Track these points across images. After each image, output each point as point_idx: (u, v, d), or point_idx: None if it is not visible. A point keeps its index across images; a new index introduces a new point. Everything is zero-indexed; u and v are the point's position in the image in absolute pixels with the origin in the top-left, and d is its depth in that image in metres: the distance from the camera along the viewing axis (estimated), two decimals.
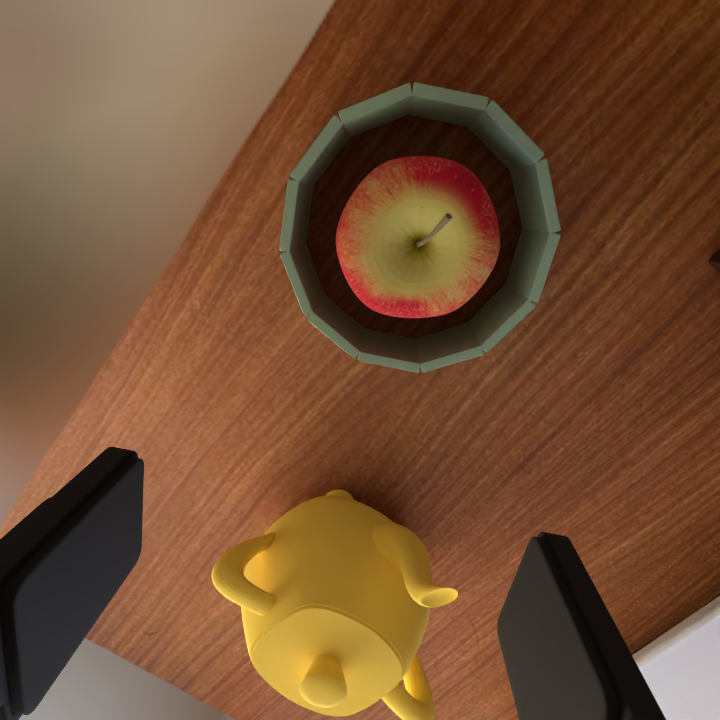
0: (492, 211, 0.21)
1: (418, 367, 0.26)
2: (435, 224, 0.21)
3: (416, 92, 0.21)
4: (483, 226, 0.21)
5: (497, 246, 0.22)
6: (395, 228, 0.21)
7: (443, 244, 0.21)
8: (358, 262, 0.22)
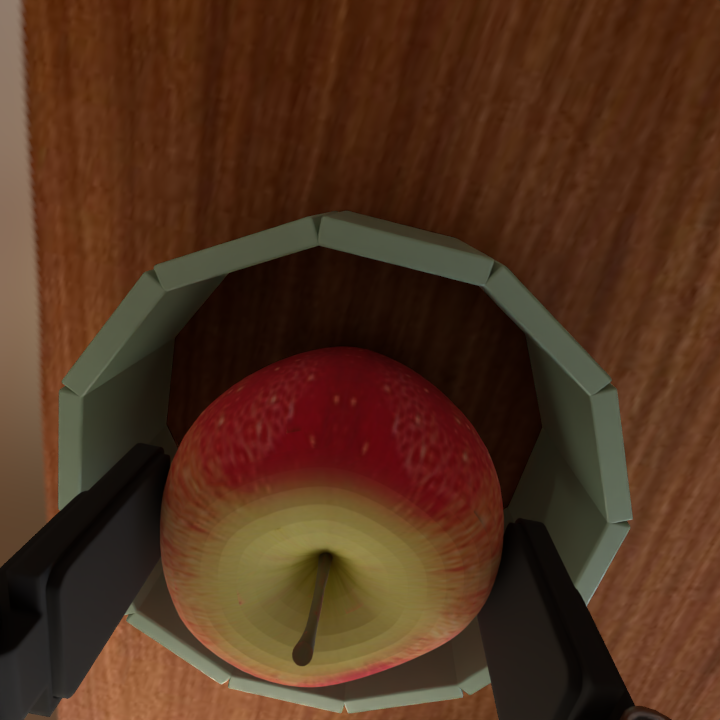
0: (438, 452, 0.09)
1: (457, 691, 0.13)
2: (328, 539, 0.09)
3: (168, 282, 0.10)
4: (431, 508, 0.08)
5: (488, 511, 0.09)
6: (254, 577, 0.09)
7: (368, 563, 0.09)
8: (225, 654, 0.10)
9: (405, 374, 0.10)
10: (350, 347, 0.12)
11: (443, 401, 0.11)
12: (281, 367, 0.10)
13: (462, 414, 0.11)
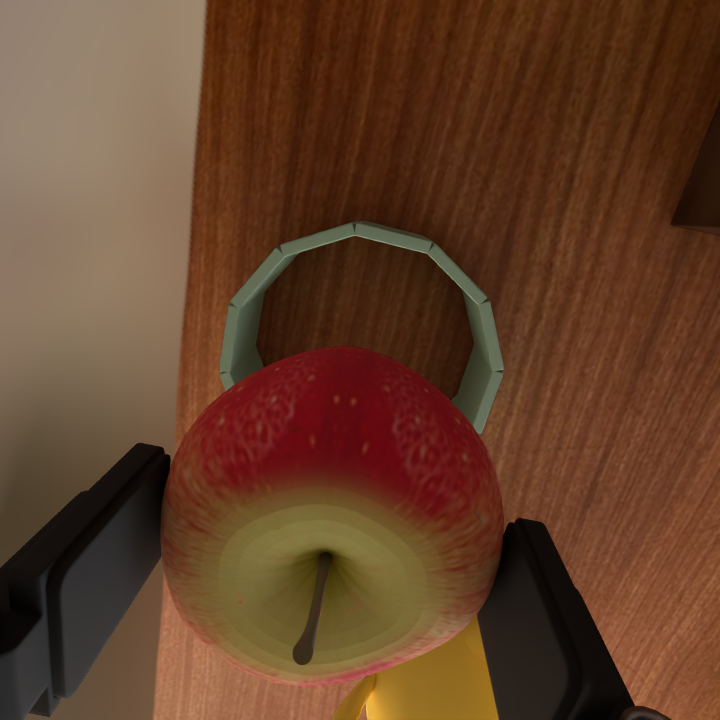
0: (437, 452, 0.09)
1: None
2: (328, 539, 0.09)
3: (286, 252, 0.21)
4: (430, 507, 0.08)
5: (487, 511, 0.09)
6: (254, 576, 0.09)
7: (368, 562, 0.09)
8: (226, 653, 0.10)
9: (405, 374, 0.11)
10: (350, 347, 0.12)
11: (443, 401, 0.11)
12: (281, 367, 0.10)
13: (462, 414, 0.11)
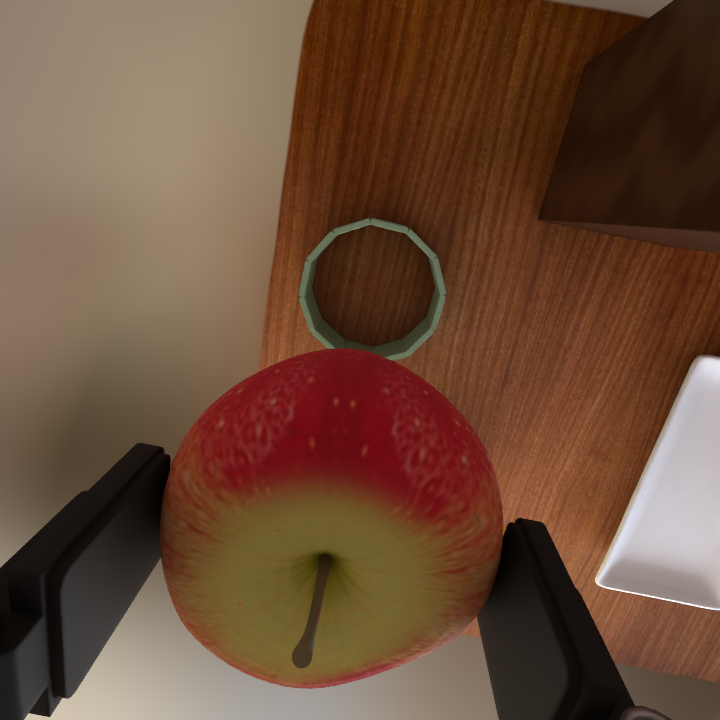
0: (437, 455, 0.09)
1: (405, 354, 0.46)
2: (328, 541, 0.09)
3: (336, 232, 0.43)
4: (430, 509, 0.08)
5: (487, 513, 0.09)
6: (253, 579, 0.09)
7: (368, 564, 0.09)
8: (225, 655, 0.10)
9: (404, 376, 0.11)
10: (350, 349, 0.12)
11: (442, 403, 0.11)
12: (281, 369, 0.10)
13: (461, 416, 0.11)
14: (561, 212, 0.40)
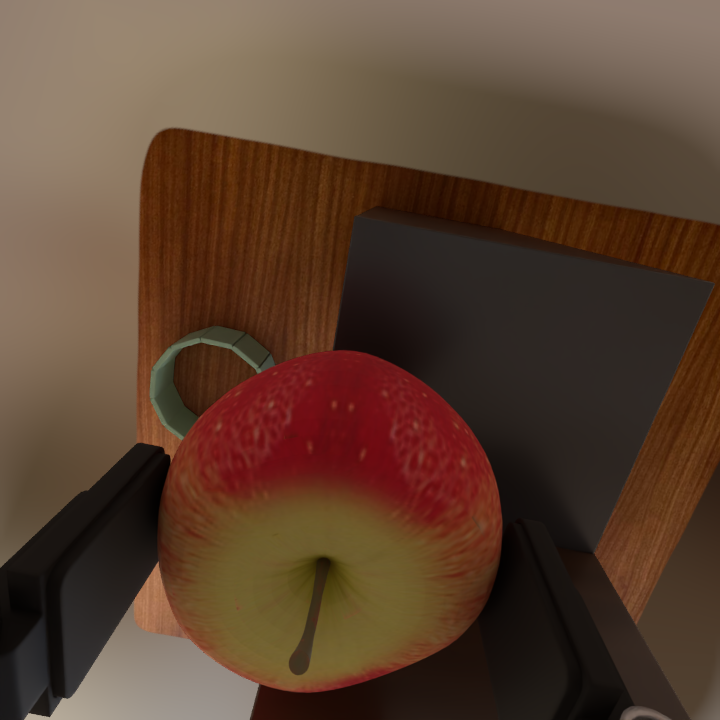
0: (436, 458, 0.09)
1: None
2: (326, 545, 0.09)
3: (173, 348, 0.51)
4: (429, 513, 0.08)
5: (486, 516, 0.09)
6: (251, 583, 0.09)
7: (366, 568, 0.09)
8: (223, 659, 0.10)
9: (403, 379, 0.10)
10: (348, 351, 0.11)
11: (441, 406, 0.10)
12: (279, 372, 0.10)
13: (460, 418, 0.11)
14: None
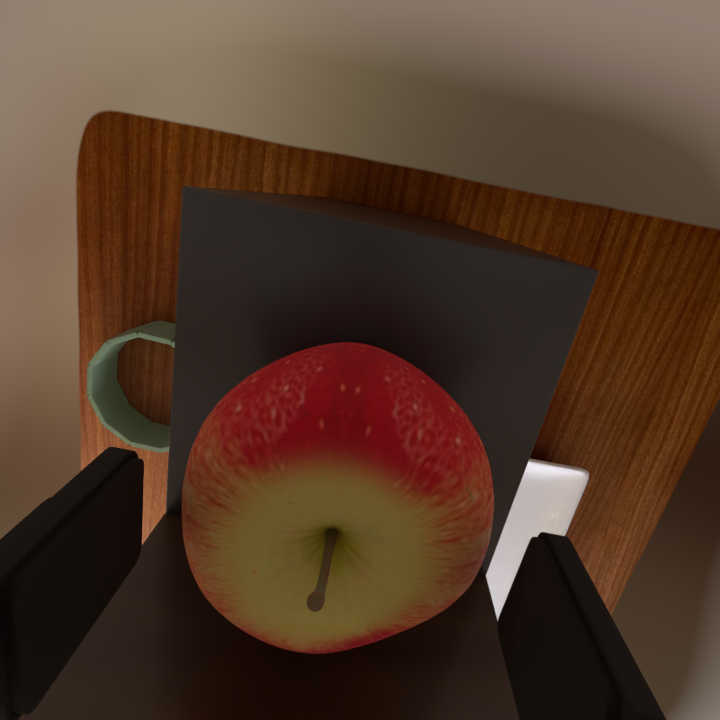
0: (433, 435, 0.10)
1: None
2: (335, 513, 0.10)
3: (109, 343, 0.48)
4: (426, 484, 0.09)
5: (478, 488, 0.10)
6: (267, 549, 0.10)
7: (371, 535, 0.10)
8: (241, 620, 0.11)
9: (404, 367, 0.12)
10: (354, 343, 0.13)
11: (439, 391, 0.12)
12: (291, 360, 0.11)
13: (456, 404, 0.12)
14: None
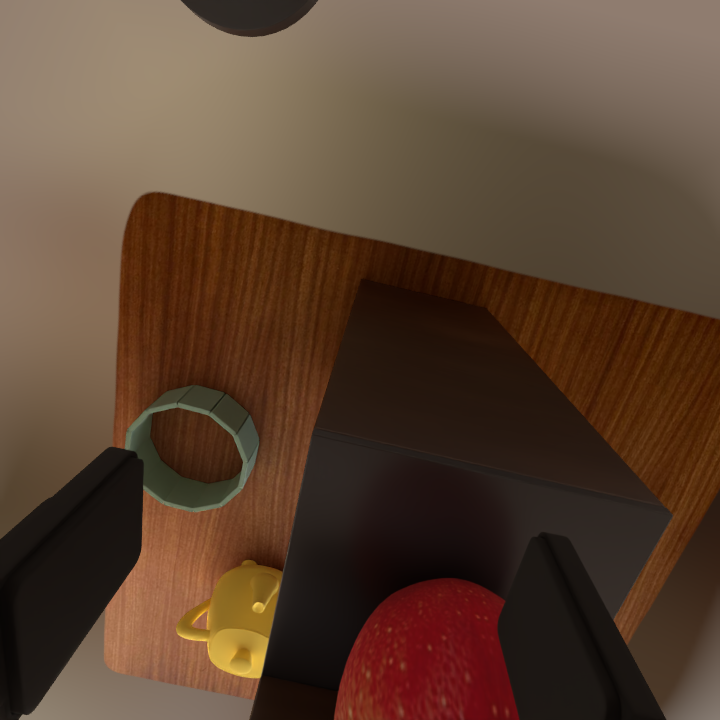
0: None
1: (219, 505, 0.54)
2: None
3: (149, 412, 0.50)
4: None
5: None
6: None
7: None
8: None
9: None
10: (475, 610, 0.15)
11: None
12: (433, 647, 0.13)
13: None
14: None
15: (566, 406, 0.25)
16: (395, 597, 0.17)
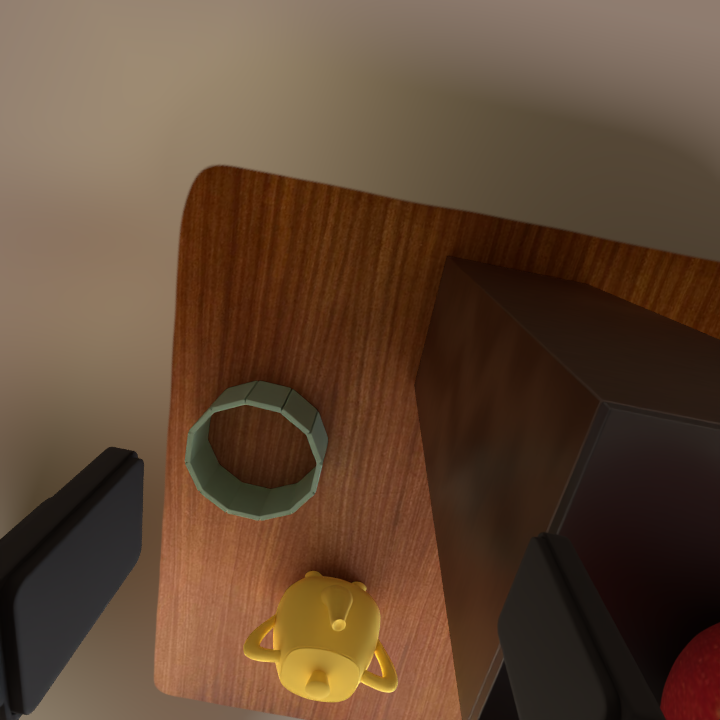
0: None
1: (289, 512, 0.49)
2: None
3: (214, 410, 0.45)
4: None
5: None
6: None
7: None
8: None
9: None
10: None
11: None
12: None
13: None
14: (419, 403, 0.42)
15: None
16: None
